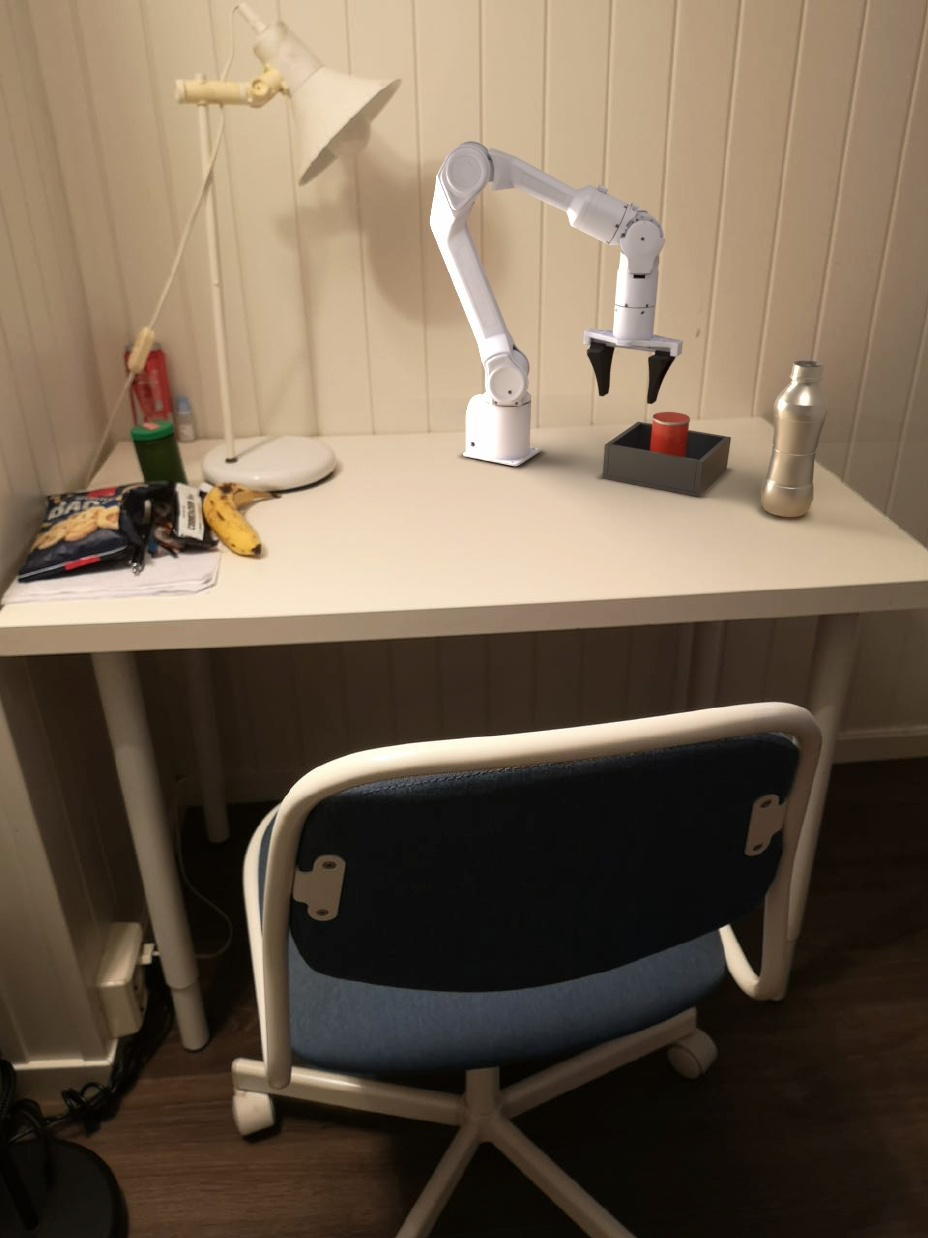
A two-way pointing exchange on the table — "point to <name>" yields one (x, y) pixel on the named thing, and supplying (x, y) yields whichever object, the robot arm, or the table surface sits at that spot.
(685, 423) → the tin can
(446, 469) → the table surface
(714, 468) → the drawer
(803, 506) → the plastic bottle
